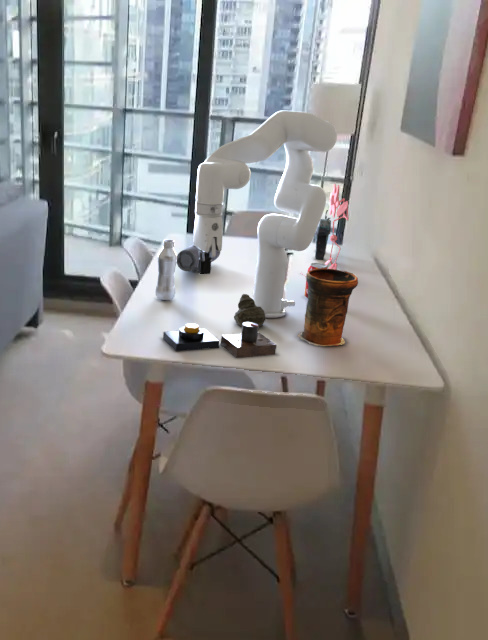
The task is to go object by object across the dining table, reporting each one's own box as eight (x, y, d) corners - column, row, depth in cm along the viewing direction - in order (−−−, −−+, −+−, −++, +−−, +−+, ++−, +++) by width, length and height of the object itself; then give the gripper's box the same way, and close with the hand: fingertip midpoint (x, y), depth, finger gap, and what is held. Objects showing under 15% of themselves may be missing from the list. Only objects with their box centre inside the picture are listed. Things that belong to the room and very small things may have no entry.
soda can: (299, 298, 251) (304, 264, 246) (309, 294, 256) (314, 261, 251) (318, 302, 247) (323, 268, 242) (327, 298, 252) (333, 265, 247)
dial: (237, 339, 200) (239, 323, 198) (246, 335, 203) (248, 319, 202) (251, 343, 198) (253, 327, 196) (259, 339, 201) (261, 323, 199)
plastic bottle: (173, 303, 239) (177, 243, 231) (153, 301, 240) (157, 241, 232) (175, 297, 245) (180, 239, 237) (156, 295, 246) (160, 237, 238)
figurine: (333, 268, 293) (348, 180, 279) (345, 285, 269) (362, 190, 255) (295, 265, 294) (308, 177, 280) (304, 282, 270) (318, 187, 257)
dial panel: (258, 342, 208) (259, 331, 207) (275, 354, 199) (276, 344, 198) (220, 345, 204) (221, 334, 203) (236, 357, 196) (237, 347, 194)
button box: (204, 335, 211) (205, 323, 209) (218, 347, 202) (220, 334, 201) (163, 338, 207) (163, 325, 205) (175, 351, 198) (177, 337, 197)
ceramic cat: (325, 261, 303) (333, 213, 295) (310, 259, 304) (317, 212, 296) (326, 251, 320) (334, 206, 312) (311, 249, 322) (318, 204, 314)
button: (195, 328, 206) (195, 322, 205) (200, 333, 202) (201, 327, 201) (182, 329, 204) (182, 323, 204) (187, 334, 201) (188, 328, 200)
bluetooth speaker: (195, 276, 271) (198, 250, 267) (174, 272, 275) (176, 246, 272) (220, 265, 289) (223, 240, 285) (199, 261, 293) (201, 237, 289)
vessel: (317, 351, 203) (328, 282, 195) (287, 334, 215) (296, 269, 207) (357, 345, 209) (369, 279, 201) (325, 329, 221) (336, 266, 213)
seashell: (265, 299, 226) (233, 296, 227) (272, 288, 215) (238, 286, 215) (263, 334, 224) (231, 331, 225) (269, 325, 213) (235, 322, 213)
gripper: (233, 214, 193) (227, 279, 200) (209, 203, 206) (205, 265, 213) (207, 215, 191) (203, 281, 198) (185, 204, 203) (181, 267, 211)
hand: (204, 273), depth 206 cm, fingers closed
